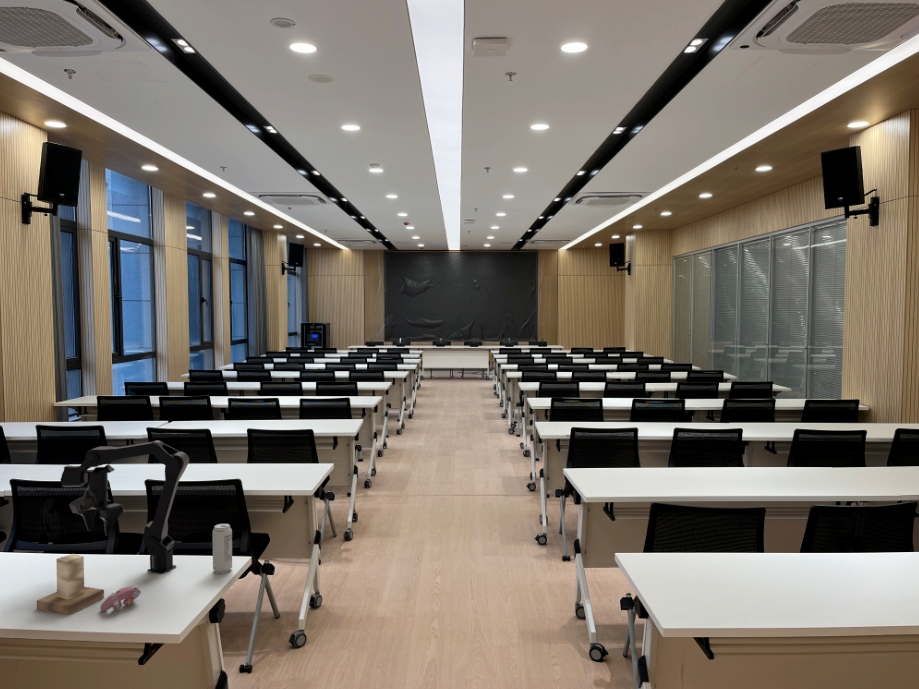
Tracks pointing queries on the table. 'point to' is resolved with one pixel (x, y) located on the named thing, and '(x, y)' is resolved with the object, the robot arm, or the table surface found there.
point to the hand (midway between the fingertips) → (98, 533)
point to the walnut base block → (70, 601)
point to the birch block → (70, 576)
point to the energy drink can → (222, 548)
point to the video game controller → (120, 598)
